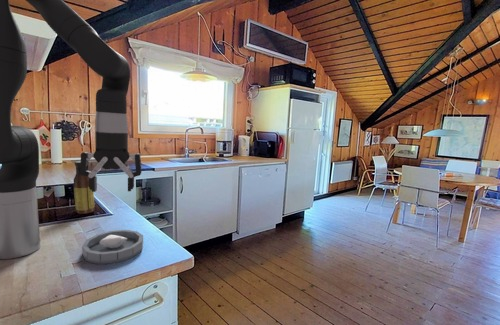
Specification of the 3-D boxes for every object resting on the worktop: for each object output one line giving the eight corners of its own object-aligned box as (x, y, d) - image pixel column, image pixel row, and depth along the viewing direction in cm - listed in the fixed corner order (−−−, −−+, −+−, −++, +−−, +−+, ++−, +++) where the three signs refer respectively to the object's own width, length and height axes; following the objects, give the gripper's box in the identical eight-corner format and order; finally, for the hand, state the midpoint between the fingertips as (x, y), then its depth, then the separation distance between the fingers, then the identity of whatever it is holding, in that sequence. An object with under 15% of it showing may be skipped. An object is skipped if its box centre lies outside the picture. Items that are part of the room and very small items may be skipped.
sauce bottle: (91, 208, 105) (89, 159, 102) (97, 212, 101) (95, 161, 98) (72, 211, 100) (69, 160, 97) (78, 216, 96) (75, 163, 93)
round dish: (75, 267, 63) (75, 256, 63) (91, 241, 77) (91, 232, 76) (140, 260, 68) (140, 250, 67) (144, 236, 81) (144, 228, 81)
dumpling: (102, 255, 68) (102, 240, 67) (97, 247, 72) (97, 234, 71) (130, 247, 73) (130, 233, 72) (124, 240, 76) (124, 228, 76)
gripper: (75, 129, 62) (77, 195, 64) (140, 132, 66) (139, 194, 69) (84, 128, 69) (86, 187, 71) (142, 131, 73) (142, 187, 76)
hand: (112, 190), depth 70 cm, fingers open, 8 cm apart
